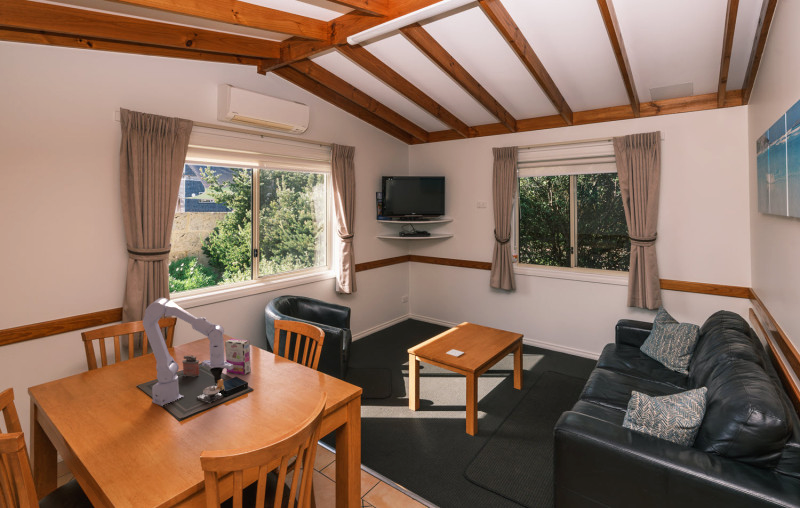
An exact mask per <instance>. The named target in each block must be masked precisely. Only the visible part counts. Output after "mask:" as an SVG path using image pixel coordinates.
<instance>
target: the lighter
mask: <svg viewBox="0 0 800 508" xmlns="http://www.w3.org/2000/svg"><path fill="white" fill-rule="evenodd" d="M181 363H182V370H183V371H182V372H183V374H182V375H186V376H198V375H199V374H200V366H199V364H200V361H199V359H197V356H193V355H184V356H183V360H182V362H181ZM186 376H185V377H186ZM198 377H199V376H198Z"/></svg>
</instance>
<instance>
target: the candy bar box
mask: <svg viewBox="0 0 800 508" xmlns="http://www.w3.org/2000/svg"><path fill="white" fill-rule="evenodd" d="M250 345H251V344H250V340H247V339H238V338H230V339H228V340H225V342H224V348H225V362H228V363H230V364H233V369H231V370H228V369H226V373H227V372H229V374H235V375H241V376H242V375H243V376H246V375H247V374H249V373H251V372H252V371H251V370H252V369H251V350H250V349H251V348H250Z"/></svg>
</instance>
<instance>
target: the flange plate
mask: <svg viewBox="0 0 800 508" xmlns="http://www.w3.org/2000/svg"><path fill="white" fill-rule="evenodd" d="M217 382H218V384H217V383H216V385H211V386H208V387H205V388H204V389H202V393H203V394H204V395H214V394H217V393H219V392H220V391H222V390H221V386H222V385H224V379H223V378H221V379H219V380H217Z"/></svg>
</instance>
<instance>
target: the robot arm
mask: <svg viewBox="0 0 800 508" xmlns="http://www.w3.org/2000/svg"><path fill="white" fill-rule="evenodd" d="M163 315H164V317H176V318H178V319H181V320H182V321H184V322H186V323H188V324H189V325H191V327H192V329H193V330H194V331H197V332H198V333H200V334H202V335H204V336H205V337H207V339H208V341H209V359H205V360H203V361H202V362H201V366H202V367H206V366H207V367H209V368H210V369H209V371H210V373H211V374H212V376H213V377H214V378H213V379H214V384H216V385H217V384H218V382H217V380H219V379H222V374H223V371H224V369H226V370H227V369H228V370H231V369H233V364H230V363H228V362H226V360H225V342H224V334H225V328H224V327H223V326H222V325H221V324H216V323H213V322H211V321H209V320H207V319H208V318H207V317H205V316H204V317H202V316H199V317H198V316H197V317H196V316H195V315H193V314H192V313H190V312H188V311H187V310H185V309H184V308H182V307H181V306H179V305H177V303H176V302H174V301H172V300H169V299H168V298H165V297H159V298H156V300H155V301H153V302H152V303H149V305H147V308H146V309H145V310H144V315H143V318H142V319H143V320H142V326H143V328H144V331H145V334H146V337H147V339H148V342H149V346H150V347H151V351H152V352H153V355H154V358H155V362H156V366H155V369H156V373H157V374H156V379H157V382H156V383H155V384H154V385H152V388H151V391H152V396H151V397H152V401H151V402H152V403H153V404H156V405H158V406H160V407H164V406H163V405H164V404H165V403H170V402H172V401H174V402H176V401H178V400H180V399H179V398H181V397H183V398H184V397H185V396H184V395H182V394H180V390H179V389H180V388H179V387H180V386H179V376H178V374H177V372H178V371H179V368H180V367H179V364H178V363H177V362H176V361H175V359H174V357H173V356H172V355H171V354H170V352H169V350H168V346H167V344H166V341H165V339H164V336H163V333H162V330H161V327H160V324H159V321H160V319H161V318H162V317H163ZM177 399H178V400H177ZM181 399H182V398H181ZM175 400H176V401H175ZM172 403H173V402H172ZM170 404H171V403H170Z"/></svg>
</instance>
